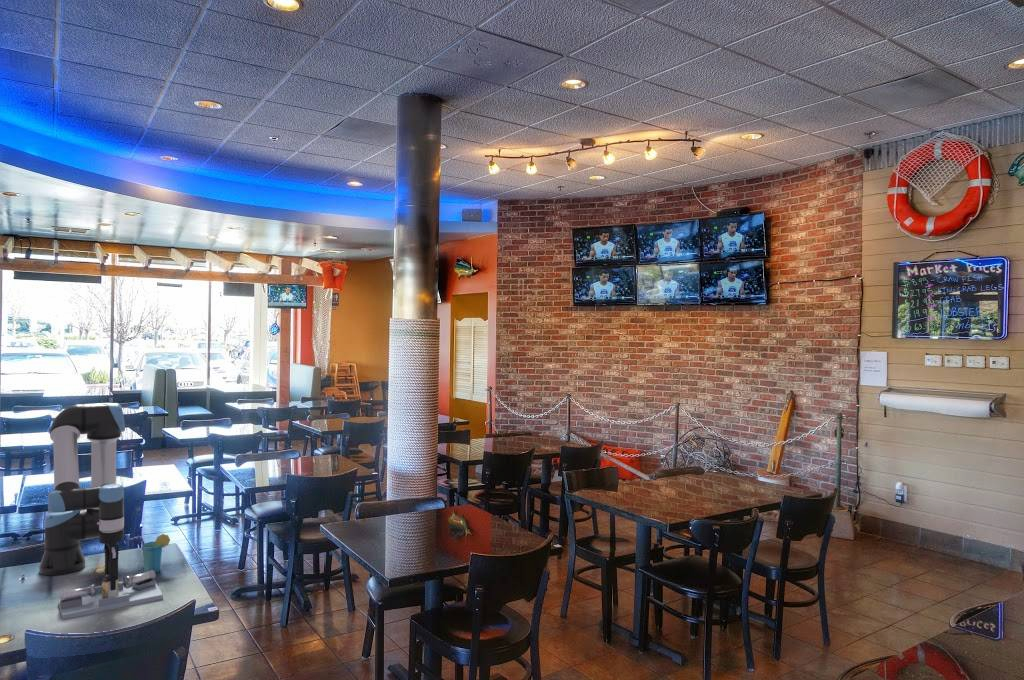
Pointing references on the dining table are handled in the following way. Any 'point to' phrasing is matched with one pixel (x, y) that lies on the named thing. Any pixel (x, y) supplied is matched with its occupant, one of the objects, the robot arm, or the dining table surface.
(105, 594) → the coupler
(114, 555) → the robot arm
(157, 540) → the cup
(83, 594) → the shaft
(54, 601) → the dining table surface
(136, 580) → the shaft
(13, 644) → the dining table surface
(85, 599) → the bench
